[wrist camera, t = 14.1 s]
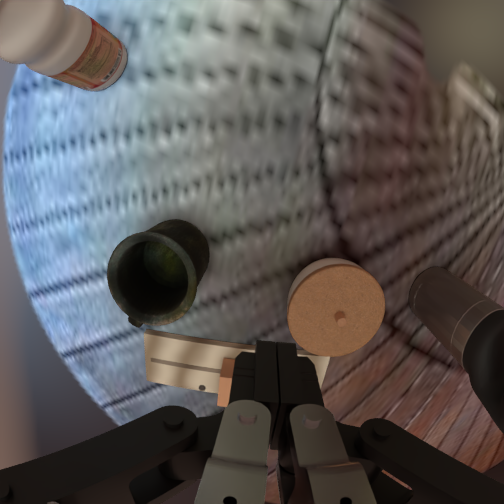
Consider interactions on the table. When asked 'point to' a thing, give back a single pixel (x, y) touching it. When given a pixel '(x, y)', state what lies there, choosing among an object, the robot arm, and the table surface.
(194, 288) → the mug
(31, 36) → the fruit juice
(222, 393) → the slider
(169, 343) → the count board
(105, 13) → the table surface
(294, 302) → the lidded bowl
